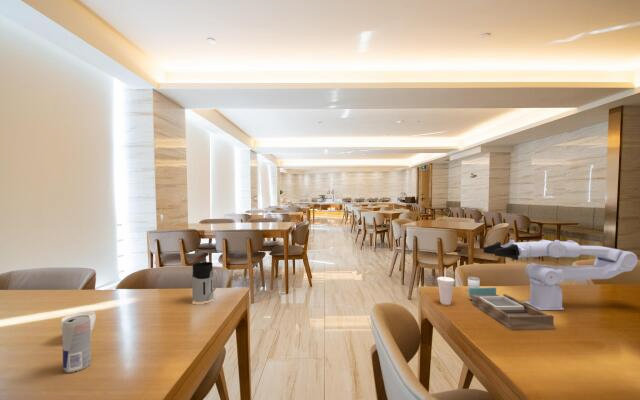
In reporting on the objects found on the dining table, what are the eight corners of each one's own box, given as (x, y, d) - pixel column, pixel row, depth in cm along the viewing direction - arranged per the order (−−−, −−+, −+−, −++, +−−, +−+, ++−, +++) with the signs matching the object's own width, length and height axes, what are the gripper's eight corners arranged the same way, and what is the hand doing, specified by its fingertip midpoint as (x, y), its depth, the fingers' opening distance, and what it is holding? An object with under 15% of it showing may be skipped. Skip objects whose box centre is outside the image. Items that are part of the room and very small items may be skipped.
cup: (54, 345, 82) (53, 321, 82) (82, 329, 92) (82, 308, 92) (81, 345, 82) (81, 321, 82) (107, 328, 92) (106, 308, 92)
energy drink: (74, 361, 74) (73, 315, 74) (96, 360, 75) (95, 314, 74) (56, 374, 69) (56, 324, 69) (80, 372, 69) (80, 323, 69)
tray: (468, 296, 118) (468, 287, 118) (494, 295, 118) (494, 287, 118) (495, 313, 101) (495, 303, 101) (525, 312, 101) (525, 302, 101)
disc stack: (475, 289, 130) (475, 276, 130) (481, 293, 125) (481, 279, 125) (465, 289, 129) (465, 276, 129) (471, 293, 125) (471, 279, 125)
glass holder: (206, 295, 123) (206, 260, 123) (227, 302, 115) (226, 265, 115) (186, 301, 116) (186, 264, 116) (207, 309, 108) (206, 269, 107)
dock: (471, 303, 113) (471, 293, 113) (507, 303, 113) (507, 292, 113) (510, 329, 91) (510, 317, 91) (554, 328, 91) (555, 316, 91)
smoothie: (451, 300, 116) (451, 266, 116) (457, 306, 110) (457, 270, 110) (434, 300, 117) (434, 265, 117) (439, 306, 111) (439, 269, 110)
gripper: (512, 237, 117) (478, 239, 118) (538, 240, 103) (499, 242, 103) (513, 254, 117) (480, 256, 117) (540, 260, 102) (501, 262, 103)
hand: (489, 251), depth 110 cm, fingers open, 7 cm apart
